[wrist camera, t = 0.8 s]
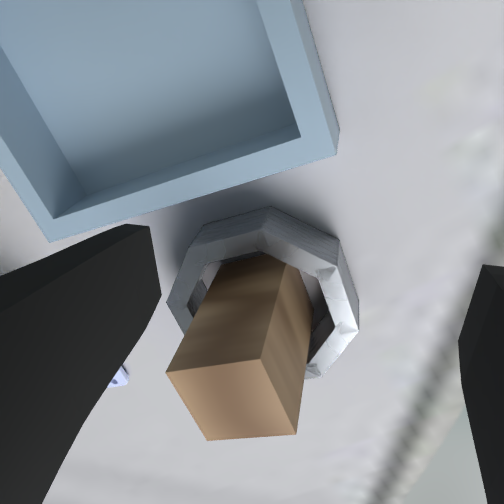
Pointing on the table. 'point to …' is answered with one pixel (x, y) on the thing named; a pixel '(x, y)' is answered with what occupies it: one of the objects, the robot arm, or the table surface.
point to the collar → (289, 251)
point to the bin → (153, 103)
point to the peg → (246, 351)
